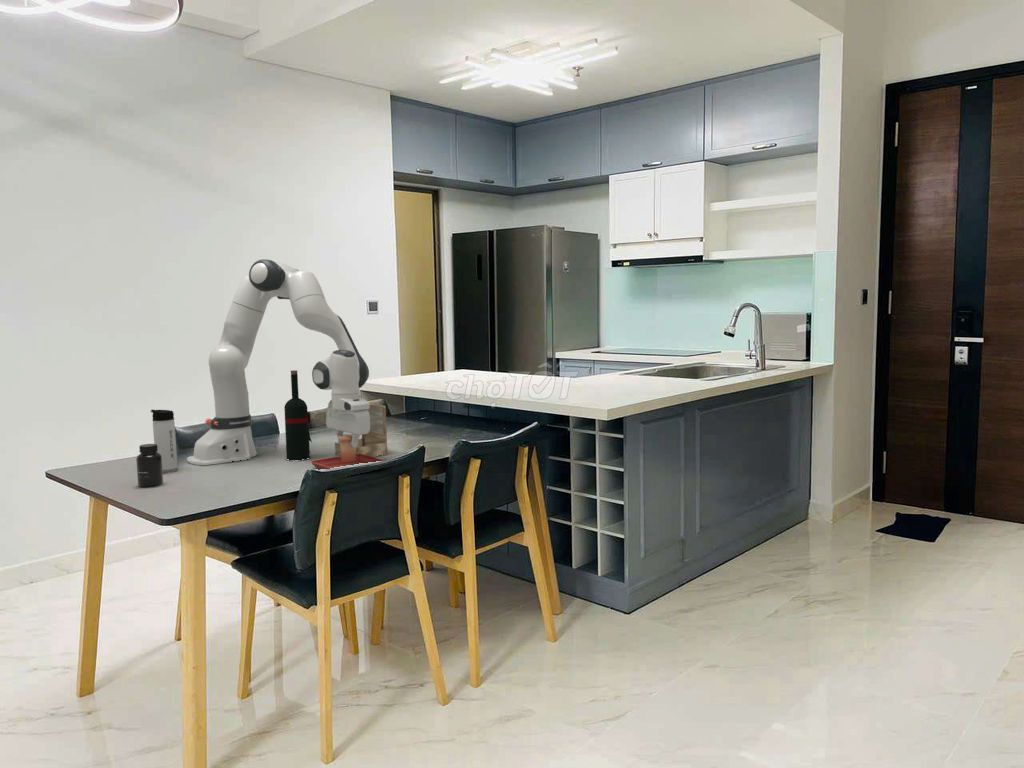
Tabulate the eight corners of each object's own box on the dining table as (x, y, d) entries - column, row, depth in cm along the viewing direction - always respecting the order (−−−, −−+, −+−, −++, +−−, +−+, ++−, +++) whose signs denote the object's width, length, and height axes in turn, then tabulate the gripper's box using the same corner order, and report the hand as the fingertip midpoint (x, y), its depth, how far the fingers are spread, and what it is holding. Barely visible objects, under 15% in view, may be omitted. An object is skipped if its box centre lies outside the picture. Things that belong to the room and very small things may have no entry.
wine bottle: (319, 455, 263) (315, 369, 260) (299, 461, 254) (294, 372, 251) (302, 454, 267) (298, 368, 263) (281, 459, 258) (276, 371, 254)
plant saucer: (360, 462, 256) (359, 452, 255) (388, 471, 242) (388, 460, 242) (309, 471, 244) (309, 460, 243) (337, 480, 230) (336, 470, 230)
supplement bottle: (137, 488, 222) (134, 448, 221) (138, 483, 229) (135, 444, 227) (163, 486, 225) (160, 445, 224) (163, 481, 231) (160, 442, 230)
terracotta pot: (346, 463, 239) (344, 437, 238) (336, 461, 243) (334, 436, 242) (361, 459, 243) (360, 435, 242) (351, 458, 247) (350, 433, 246)
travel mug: (155, 470, 246) (150, 408, 244) (177, 468, 249) (173, 407, 246) (154, 474, 240) (150, 411, 238) (177, 472, 243) (173, 409, 240)
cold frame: (357, 460, 255) (355, 410, 253) (335, 454, 265) (333, 406, 263) (387, 454, 264) (385, 406, 262) (364, 449, 274) (362, 402, 272)
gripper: (320, 400, 246) (322, 442, 247) (355, 406, 231) (357, 451, 233) (337, 398, 250) (339, 439, 252) (372, 403, 235) (374, 448, 237)
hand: (348, 445), depth 242 cm, fingers open, 6 cm apart
